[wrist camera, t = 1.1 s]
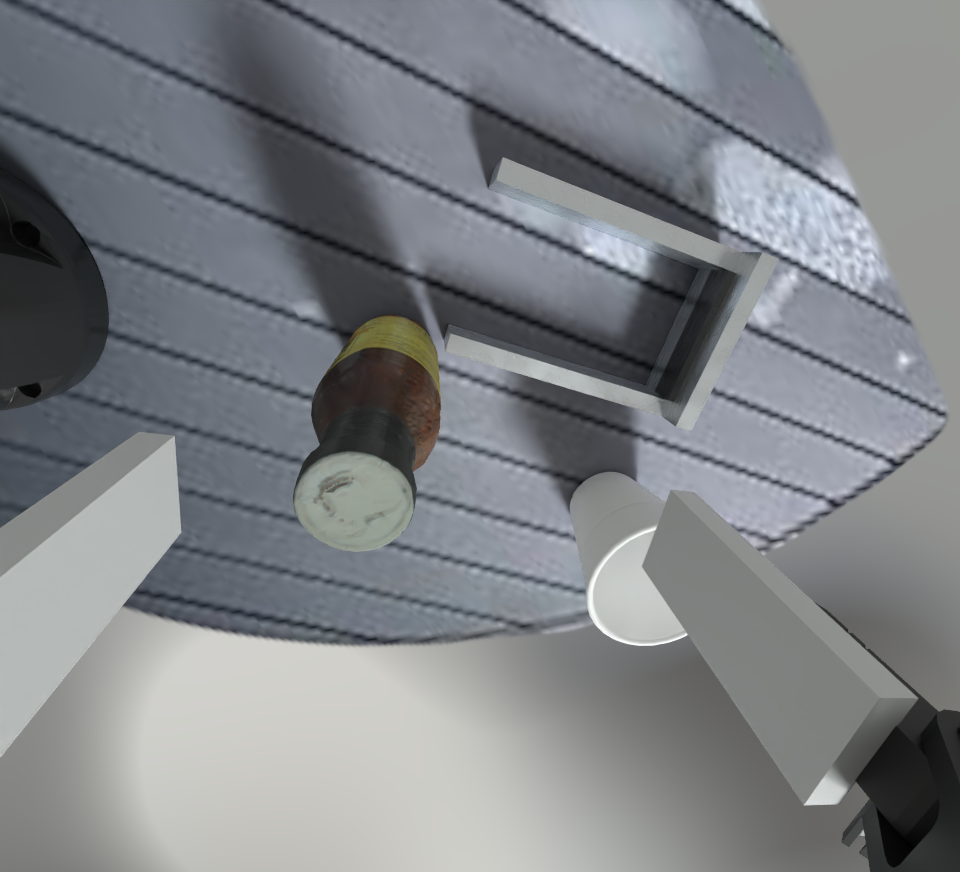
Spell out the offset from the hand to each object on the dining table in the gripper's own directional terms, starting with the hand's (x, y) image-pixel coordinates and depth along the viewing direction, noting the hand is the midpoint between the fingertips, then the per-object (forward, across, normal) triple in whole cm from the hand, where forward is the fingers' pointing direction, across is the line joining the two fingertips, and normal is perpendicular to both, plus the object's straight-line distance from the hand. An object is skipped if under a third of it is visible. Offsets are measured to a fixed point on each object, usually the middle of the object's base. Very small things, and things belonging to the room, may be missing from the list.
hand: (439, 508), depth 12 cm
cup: (+22, +17, -11) cm, 30 cm away
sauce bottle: (+23, -2, -2) cm, 23 cm away
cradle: (+22, +10, +5) cm, 25 cm away
